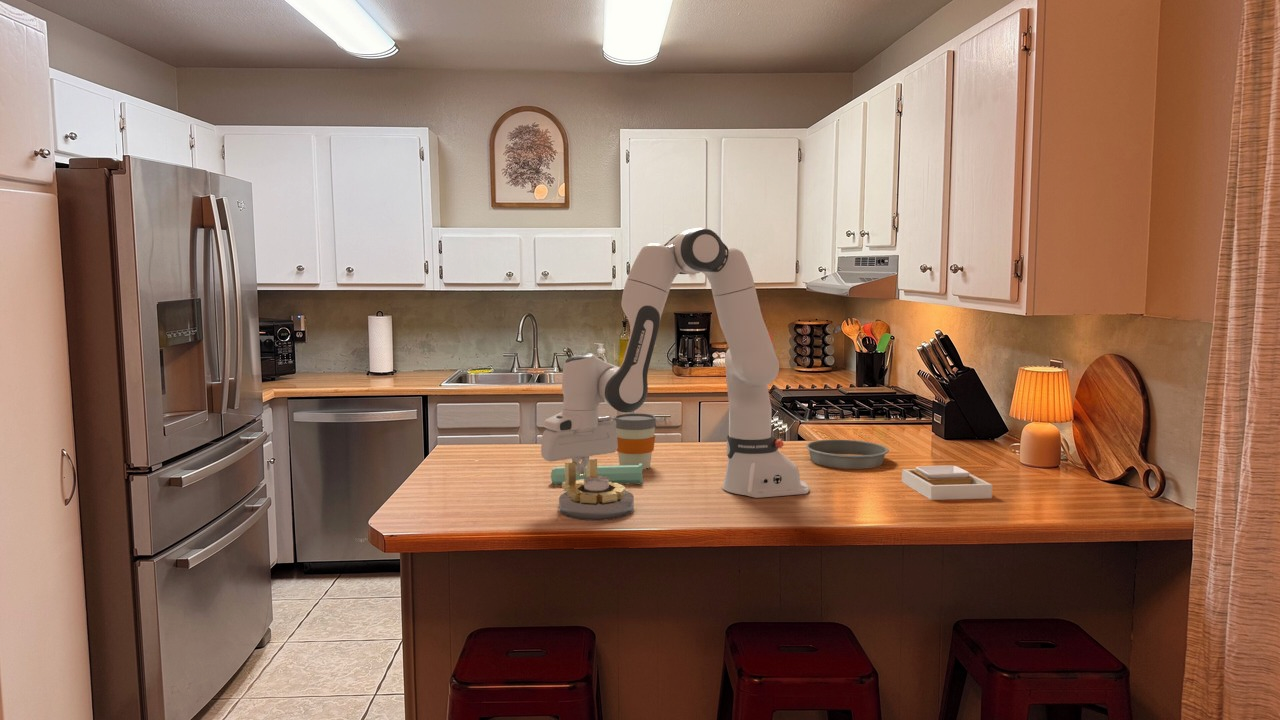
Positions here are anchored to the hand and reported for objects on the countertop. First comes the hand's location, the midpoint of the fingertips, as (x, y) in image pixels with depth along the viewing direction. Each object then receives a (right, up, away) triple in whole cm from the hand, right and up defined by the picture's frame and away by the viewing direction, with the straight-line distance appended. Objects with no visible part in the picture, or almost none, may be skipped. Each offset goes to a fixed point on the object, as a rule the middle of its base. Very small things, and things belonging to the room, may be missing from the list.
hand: (580, 474), depth 203 cm
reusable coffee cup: (+13, -3, +38) cm, 41 cm away
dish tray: (+95, -6, +12) cm, 96 cm away
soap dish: (+95, -6, +15) cm, 97 cm away
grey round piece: (+4, -8, -5) cm, 10 cm away
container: (+3, -6, +19) cm, 20 cm away
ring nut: (+3, -4, -4) cm, 7 cm away
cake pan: (+78, -3, +46) cm, 91 cm away
